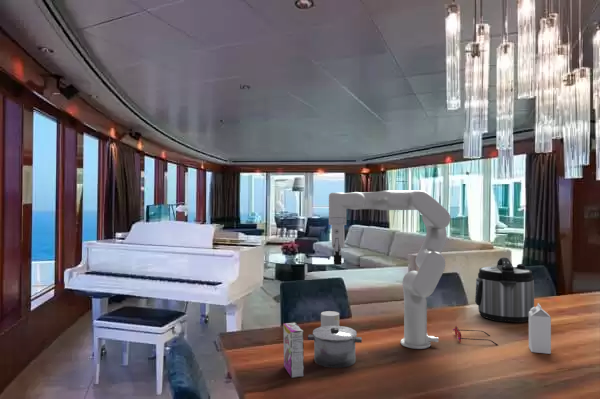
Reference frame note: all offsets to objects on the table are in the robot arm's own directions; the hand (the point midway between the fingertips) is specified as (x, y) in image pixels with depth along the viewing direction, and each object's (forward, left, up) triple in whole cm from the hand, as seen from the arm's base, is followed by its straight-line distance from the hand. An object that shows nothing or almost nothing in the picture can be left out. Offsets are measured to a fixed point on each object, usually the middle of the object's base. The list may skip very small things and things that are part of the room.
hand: (337, 264), depth 188 cm
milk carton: (-83, -8, -35) cm, 91 cm away
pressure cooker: (-84, -61, -35) cm, 110 cm away
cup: (+4, -8, -35) cm, 36 cm away
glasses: (-60, -19, -36) cm, 72 cm away
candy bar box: (+14, +30, -35) cm, 48 cm away
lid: (0, +16, -25) cm, 30 cm away
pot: (0, +16, -35) cm, 39 cm away
